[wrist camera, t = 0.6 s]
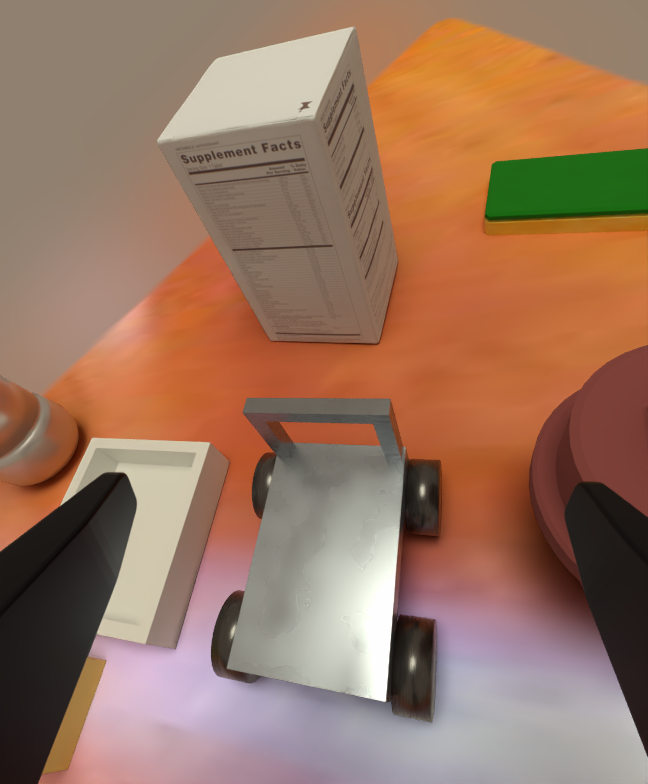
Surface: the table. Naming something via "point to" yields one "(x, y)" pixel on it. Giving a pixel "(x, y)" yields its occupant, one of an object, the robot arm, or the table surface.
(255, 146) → the supplement box
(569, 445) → the mechanical component
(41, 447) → the plastic bottle
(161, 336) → the table surface
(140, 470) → the tray
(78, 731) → the block
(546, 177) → the dish sponge
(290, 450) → the trolley
